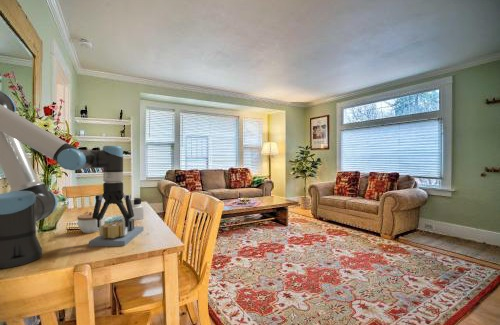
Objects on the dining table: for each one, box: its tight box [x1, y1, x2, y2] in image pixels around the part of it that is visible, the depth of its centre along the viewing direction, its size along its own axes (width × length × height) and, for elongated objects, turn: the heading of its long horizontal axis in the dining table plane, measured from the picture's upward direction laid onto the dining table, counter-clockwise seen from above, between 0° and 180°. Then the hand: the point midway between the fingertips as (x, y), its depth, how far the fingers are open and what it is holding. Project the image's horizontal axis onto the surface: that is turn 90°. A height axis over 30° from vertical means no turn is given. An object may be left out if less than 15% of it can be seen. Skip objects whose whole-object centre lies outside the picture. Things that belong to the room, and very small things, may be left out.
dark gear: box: [112, 218, 135, 231], centre depth 120 cm, size 9×9×4 cm
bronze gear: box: [101, 221, 123, 238], centre depth 110 cm, size 9×9×4 cm
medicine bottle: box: [126, 197, 145, 221], centre depth 151 cm, size 7×7×12 cm
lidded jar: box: [76, 211, 104, 234], centre depth 125 cm, size 11×11×9 cm
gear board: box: [88, 218, 144, 247], centre depth 115 cm, size 14×22×7 cm, turn 4°
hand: (113, 234), depth 110 cm, fingers closed on bronze gear, 9 cm apart
